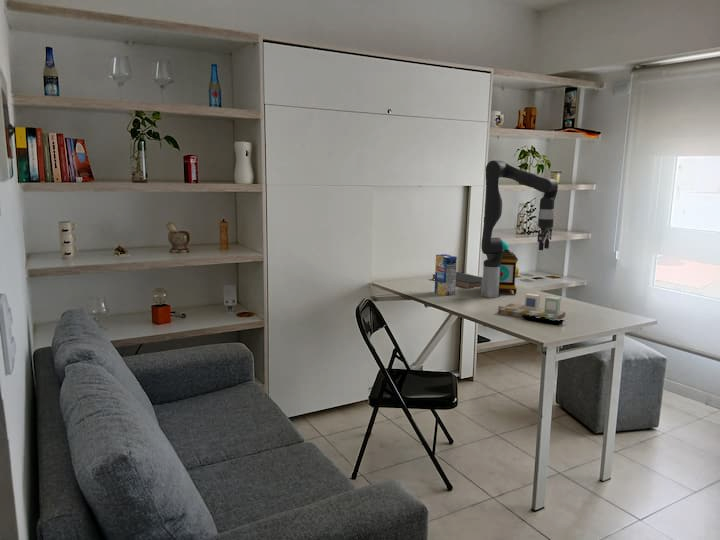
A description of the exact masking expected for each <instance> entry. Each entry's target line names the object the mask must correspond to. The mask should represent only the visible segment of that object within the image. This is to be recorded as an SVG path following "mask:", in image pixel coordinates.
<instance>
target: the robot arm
mask: <svg viewBox="0 0 720 540" xmlns="http://www.w3.org/2000/svg"><path fill="white" fill-rule="evenodd" d="M500 178H505V179H510V180H513V181H515V182H517V183H518V184H521V185H523V186H526V187H529V188H532V189H534V190H536V191H538V192H541V193H543V196H542V197H541V198H540V201H539V210H538V217H537V218H538V220H537V227H538V228H540V229H538V231H537V243H538V250H539V251H543V250H544V249H546V250H547V249H550V242H551V240H552V233H553V232H552V231H553V230H552V229H553V227H554V222H555V220H554V218H555V210H554V209H555V202H556V201H555V200H556V198H557V193H558V189H559V185H558V181H557V180H556V179H554V178H545V177H541V176H540V175H538V174H536V173H533V172H530V171H526V170H523V169H520V168H519V169H518V168H517V167H515V166H512V165H510V164H508V163H506V162H504V161H503V160H491V161H489V162H488V163H487V164H486V165H485V201H484V220H483V221H484V222H483V231H482V237H481V246H480V247H481V252H482V254H484V255H486V254H492V256H491V257H490V258H489V259H487V258H486V259H485V260H484V261H483V266H482V267H483V270H482V271H483V272H482V278H483V279H481V287H480V297H481V296H482V297H484V298H490V299H491V298H494V297H495V298H498V297H499V295H500V292H499V291H500V290H499V280H500V264H501V261H502V252H503V242H502V241H503V239H502V238H500V237H492V234H493V230H494V227H495V226H496V225H497V223H498V221H500V219H501V216H502V213H503V199H502V196H501V192H500V189H499V179H500Z"/></svg>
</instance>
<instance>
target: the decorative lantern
mask: <svg viewBox="0 0 720 540" xmlns="http://www.w3.org/2000/svg"><path fill="white" fill-rule="evenodd" d="M502 242H503V252H502V261H501V264H500V280H499V291H500V290H503V291H513V295H514V294H517V286H516V283H515V282H516V278H517V277H518V276H519V267H518V266H517V263H518V261H519V259H518V257H517V255H516V254H515V253H514V252H511V251H510V249H509V244H508V243H507V242H506V241H505V240H502ZM485 255H486V260H487V259H489V258H490V257H491V256H492V254H485Z"/></svg>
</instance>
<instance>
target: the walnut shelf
mask: <svg viewBox="0 0 720 540" xmlns="http://www.w3.org/2000/svg"><path fill="white" fill-rule="evenodd" d="M524 307H525V304H524V305H522V304H517V303H512V302H511V303H509V304H506V305H502V306H501V305H498V308H497V309H498V310H497V313H498V314H501V315H506V316H513V317H517V318H523V317H522V316H523V315H529V316H535V317H545V318H550V319H560V320H561V319H562V318H564V317H565V316H566V311H562V310H560V314H559V315H557V316H556V315H553V314H547V313H544V312H545V308H542V307H539V311H538V312H535V311H529V310H524Z"/></svg>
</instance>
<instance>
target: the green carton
mask: <svg viewBox="0 0 720 540" xmlns="http://www.w3.org/2000/svg"><path fill="white" fill-rule="evenodd" d="M544 299H545V300H544V309H545V312H544V313H547V314H553V315H556V316H557V315H559V314H560V311H561V299H562V297H557V296H551V295H550V296H546V297H545V298H544Z"/></svg>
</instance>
